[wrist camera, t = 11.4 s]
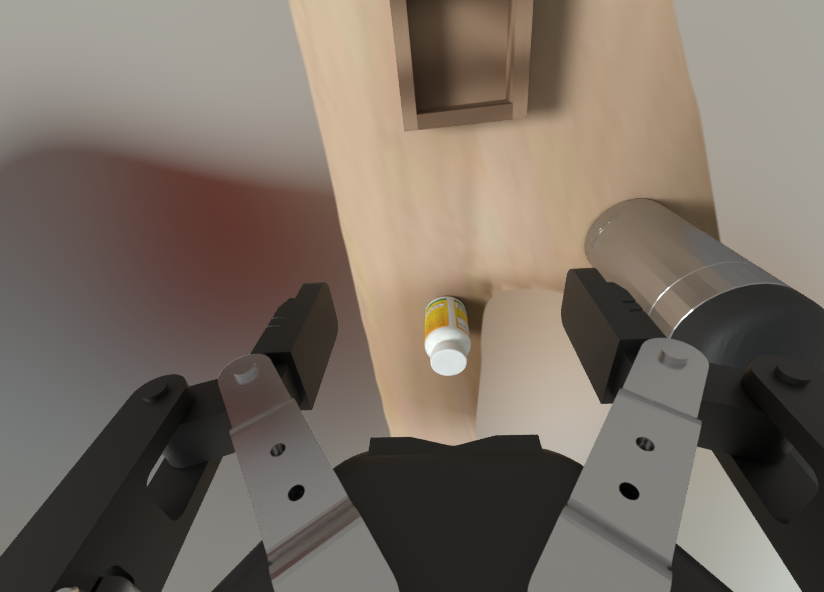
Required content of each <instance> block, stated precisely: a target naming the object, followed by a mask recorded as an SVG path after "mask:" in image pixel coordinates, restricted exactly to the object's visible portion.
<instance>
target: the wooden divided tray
mask: <svg viewBox="0 0 824 592" xmlns="http://www.w3.org/2000/svg"><path fill="white" fill-rule="evenodd" d="M390 7H391V16H392V25H393V34H394V43H395V52H396V61H397V69H398V78H399V87H400V96H401V105H402V114H403V123H404V131H413V130H421V129H430V128H439V127H448V126H456V125H465V124H474V123H482V122H491V121H500V120H508V119H517V118H526V117H527V103H528V86H529V69H530V52H531V34H532V17H533V0H390Z"/></svg>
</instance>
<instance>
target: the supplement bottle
mask: <svg viewBox="0 0 824 592" xmlns="http://www.w3.org/2000/svg"><path fill="white" fill-rule="evenodd" d="M470 347H471V341H470V334H469V327H468V320H467V313H466V309H465V306H464V305H463V303H462V302H461V301H459V300H458V299H456V298H454V297H449V296H444V297H439V298H437V299H435V300H433V301H432V302H430V303H429V305H428V306H427V308H426V312H425V349H426V352H427V354H428V355H429V357H430V359H431V366H432V368H433V370H434V371H436V372H437V373H439V374H441V375H446V376H451V375H455V374H458V373H460V372H461V371H463V370H464V368H465V367H466V364H467V357H466V356H467V355H468V353H469V351H470Z"/></svg>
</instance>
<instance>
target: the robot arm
mask: <svg viewBox="0 0 824 592" xmlns="http://www.w3.org/2000/svg"><path fill="white" fill-rule="evenodd" d="M585 253H586V256H587V259H588V260H589V262H590V263H591V265H592V266H593V267H594V268H579V269H570V270H569V271H568V273H567V277H566V283H565V289H564V295H563V302H562V308H561V317H562V323H563V327H564V329H565V331H566V333H567V335H568V337H569V339H570V341H571V343H572V345H573V347H574V349H575V351H576V353H577V355H578V357H579V359H580V362H581V364H582V366H583V368H584V370H585V372H586V374H587V376H588V378H589V380H590V382H591V384H592V386H593V388H594V390H595V392H596V394H597V396H598V398H599V400H600V403H601V404H609V403H610V404H611V403H613V404H612V407H611V409H610V411H609V413H608V415H607V418H606V420H605V422H604V424H603V426H602V428H601V431H600V433H599V435H598V437H597V439H596V441H595V444H594V446H593V448H592V450H591V452H590V455H589V457H588V459H587V461H586V463H585V465H584V466H582V465H581V464H579V463H578V462H576V461H574V460H572V459H570V458H568V457H566V456H564V455H561V454H559V453H556V452H553V451H550V450H547V449H542V447H541V444H540V440H539V436H538V435H499V436H498V435H496V436H492V437H488V438H484V439H480V440H476V441H472V442H468V443H464V444H461V445H456V446H450V445H445V444H440V443H436V442H431V441H427V440H422V439H417V438H413V437H387V438H386V437H382V438H371V439H370V446H369V451H367V452H363V453H360V454H358V455H356V456H353V457H351V458H349V459H347V460H345V461H344V462H342V463H341V464H339V465H338V466H336V467H335V468H332V466H331V465H330V463H329V461H328V459H327V457H326V455H325V454H324V452H323V450H322V448H321V447H320V445H319V443H318V441H317V439H316V437H315V435H314V434H313V432H312V430H311V428H310V426H309V425H308V423H307V421H306V419H305V417H304V415H303V414H302V412H301V410H312V408H313V405H314V402H315V399H316V396H317V394H318V391H319V388H320V384H321V382H322V379H323V376H324V373H325V370H326V367H327V364H328V361H329V358H330V355H331V351H332V349H333V346H334V343H335V340H336V337H337V332H338V322H337V317H336V313H335V309H334V305H333V302H332V297H331V293H330V289H329V286H328V284H327V283H326V282H319V283H304V284H303V285H302V287H301V289H300V290H299V292H298V294H297V296H296V298H290V299H288V300H287V301H286V302H285V303H283V304H282V305H281V306H280V307H278V309H277V311H276V312H275V314H274V316H273V319H271V321H270V322H269V324H268V328H266V329H265V331H264V332H263V334H262V336H261V337H260V339H259V341H258V342H257V344H256V346H255V347H254V349H253V350H252V352H251V354H250V355H246V356H242V357H240V358H238V359H236V360H234V361H232V362H231V363H229V364H228V365H227V366H226V367H225V368H224V369H223V370H222V371H221V373H220V375H219V377H218V379H215V380H211V381H208V382H204V383H200V384H196V385H193V386H189V385H188V383H187V381H186V380H185V378H184V377H182V376H180V375H176V374H171V375H165V376H161V377H158V378H156V379H153V380H151V381H149V382H148V383H146V384H144V385H142V386H141V387H140V388H139V389H137V390H136V391H135V392H134V393H133V394H132V395H131V396H130V398H129V399H128V400H127V401H126V403H125V404H124V405H123V406H122V407H121V409H120V410H119V411H118V412H117V414H116V415H115V416H114V417H113V418H112V420H111V421H110V422H109V423H108V425H107V426H106V427H105V428H104V430H103V431H102V432H101V433H100V434H99V436H98V437H97V438H96V440H95V441H94V442H93V443H92V444H91V446H90V447H89V448H88V449H87V451H86V452H85V453H84V454H83V456H82V457H81V458H80V459H79V461H78V462H77V463H76V464H75V465H74V467H73V468H72V469H71V470H70V471H69V473H68V474H67V475H66V477H65V478H64V479H63V480H62V481H61V483H60V484H59V485H58V486H57V487H56V489H55V490H54V491H53V492H52V494H51V495H50V496H49V497H48V499H47V500H46V501H45V502H44V503H43V505H42V506H41V507H40V508H39V510H38V511H37V512H36V513H35V515H34V516H33V517H32V518H31V520H30V521H29V522H28V523H27V525H26V526H25V527H24V528H23V529H22V531H21V532H20V533H19V534H18V536H17V537H16V538H15V539H14V540H13V542H12V543H11V544H10V546H9V547H8V548H7V549H6V551H5V552H4V553H3V554H2V555H1V557H0V592H161V591H162V589H163V587H164V584H165V582H166V580H167V578H168V576H169V573H170V571H171V569H172V567H173V565H174V563H175V560H176V558H177V556H178V554H179V552H180V549H181V547H182V545H183V543H184V541H185V538H186V536H187V534H188V532H189V530H190V527H191V525H192V523H193V521H194V519H195V516H196V514H197V512H198V510H199V507H200V505H201V503H202V501H203V499H204V496H205V494H206V492H207V490H208V488H209V486H210V483H211V481H212V479H213V477H214V475H215V473H216V470H217V468H218V466H219V464H220V462H221V459H222V457H223V456H225V455H229V454H232V453H235V452H236V456H237V459H238V462H239V465H240V468H241V472H242V475H243V478H244V481H245V485H246V488H247V492H248V495H249V498H250V501H251V505H252V508H253V511H254V514H255V518H256V521H257V524H258V527H259V531H260V534H261V537H262V541H261V542H260V543H259V544H258V545H257V546H256V547H255V548H254V549H253V550H252V551H251V552H250V553H249V554H248V555H247V556H246V557H245V558H244V559H243V560H242V561H241V562H240V563H239V564H238V565H237V566H236V567H235V568H234V569H233V570H232V571H231V572H230V573H229V574H228V575H227V576H226V577H225V578H224V580H222V581H221V582H220V583H219V585H217V587H216V588H215V589H214V590H213V591H212V592H733V591H732V590H731V589H729V588H728V587H727V586H726V585H725V584H724V583H722V582H721V581H720V580H719V579H718V578H716V577H715V576H714V575H713V574H712V573H710V572H709V571H708V570H707V569H706V568H705V567H703V566H702V565H701V564H700V563H699V562H697V561H696V560H695V559H694V558H693V557H692V556H690V555H689V554H688V553H687V552H686V551H684V550H683V549H682V548H681V547H680V546H679V545H677V544H676V540H677V535H678V531H679V526H680V521H681V517H682V511H683V508H684V503H685V498H686V494H687V489H688V485H689V480H690V475H691V470H692V466H693V461H694V457H695V452H696V448H697V447H702V448H706V449H709V450H712V451H713V453H714V454H715V456H716V458H717V459H718V461H719V462H720V464H721V465H722V467H723V469H724V470H725V472H726V473H727V475H728V476H729V478H730V480H731V481H732V482H733V484H734V486H735V487H736V489H737V490H738V492H739V494H740V495H741V497H742V498H743V500H744V501H745V503H746V505H747V506H748V508H749V509H750V511H751V512H752V514H753V516H754V517H755V519H756V520H757V522H758V523H759V525H760V527H761V528H762V530H763V531H764V533H765V534H766V536H767V537H768V539H769V541H770V542H771V544H772V545H773V547H774V548H775V550H776V552H777V553H778V554H779V556H780V558H781V559H782V561H783V563H784V564H785V566H786V567H787V569H788V570H789V572H790V573H791V575H792V577H793V578H794V580H795V581H796V583H797V584H798V586H799V588H800V589H801V591H802V592H824V309H823V308H822V307H821V306H819V305H818V304H817V303H815V302H814V301H812V300H811V299H809V298H807V297H806V296H804V295H803V294H801V293H799V292H798V291H796V290H794V289H793V288H791V287H790V286H788V285H787V284H785V283H783V282H782V281H780V280H779V279H777V278H776V277H774V276H772V275H771V274H769V273H768V272H766V271H764V270H763V269H761V268H760V267H758V266H756V265H755V264H753V263H752V262H750V261H748V260H747V259H745V258H744V257H742V256H741V255H739V254H737V253H736V252H734V251H733V250H731V249H730V248H728V247H726V246H725V245H723V244H722V243H720V242H719V241H717V240H716V239H714V238H712V237H711V236H709V235H708V234H706V233H705V232H703V231H702V230H700V229H698V228H697V227H695V226H694V225H692V224H691V223H689V222H687V221H686V220H684V219H683V218H681V217H680V216H678V215H677V214H675V213H674V212H672V211H670V210H669V209H667V208H666V207H664V206H663V205H661V204H659V203H657V202H655V201H652V200H648V199H633V200H628V201H625V202H622V203H619V204H617V205H615V206H613V207H612V208H610V209H608V210H607V211H606V212H604V213H603V214H602V215H601V216H600V217H599V218H598V219H597V220H596V221H595V222H594V224H593V225H592V227H591V228H590V230H589V232H588V235H587V237H586V242H585ZM161 454H163V456H164V457H165V458H164V460H163V462H162V463H161V465H160V466H159V468H158V470H157V472H156V473H155V475H154V476H153V478H152V480H151V482H150V483H149V485H148V486H147V479H148V476H149V474H150V472H151V470H152V469H153V467H154V465H155V464H156V462H157V461H158V459H159V457H160V456H161Z"/></svg>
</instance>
